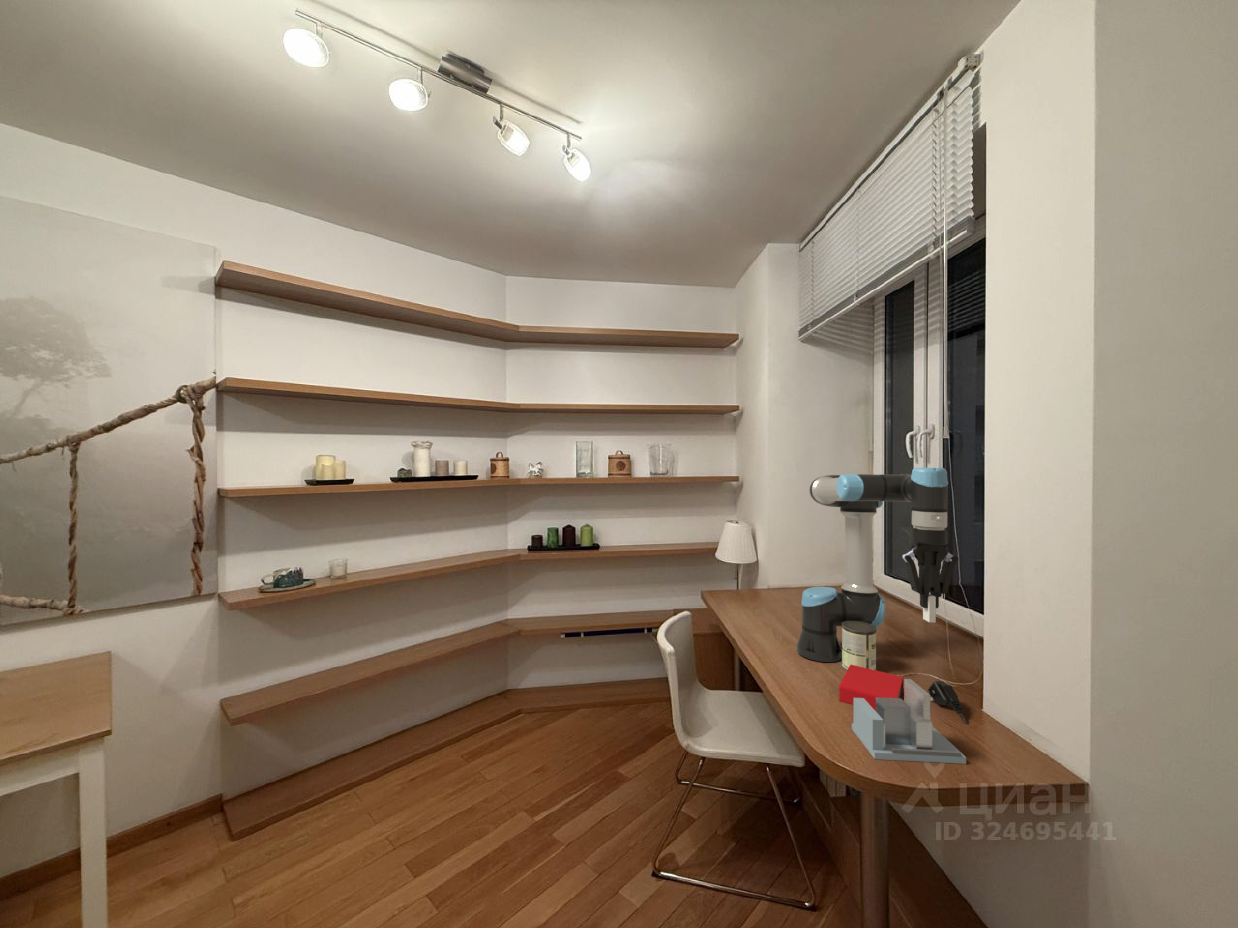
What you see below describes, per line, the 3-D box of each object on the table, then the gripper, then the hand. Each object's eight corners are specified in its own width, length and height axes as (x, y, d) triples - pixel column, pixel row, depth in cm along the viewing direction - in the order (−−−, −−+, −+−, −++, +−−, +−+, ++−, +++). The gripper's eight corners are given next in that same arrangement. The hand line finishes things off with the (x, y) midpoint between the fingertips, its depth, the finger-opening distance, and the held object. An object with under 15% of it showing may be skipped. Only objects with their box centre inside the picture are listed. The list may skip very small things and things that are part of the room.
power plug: (958, 722, 118) (931, 676, 127) (944, 734, 122) (920, 689, 132) (979, 721, 118) (951, 676, 127) (964, 734, 122) (938, 689, 132)
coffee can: (842, 658, 158) (842, 618, 158) (876, 664, 153) (876, 623, 153) (840, 670, 149) (840, 627, 149) (876, 677, 144) (876, 633, 144)
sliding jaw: (894, 726, 114) (894, 676, 114) (908, 726, 114) (908, 677, 114) (916, 750, 104) (916, 696, 104) (932, 750, 104) (932, 696, 104)
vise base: (851, 728, 116) (851, 695, 116) (933, 732, 114) (933, 699, 114) (874, 758, 104) (874, 722, 104) (966, 763, 102) (966, 726, 102)
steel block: (875, 733, 111) (875, 697, 111) (901, 734, 111) (901, 698, 111) (884, 743, 107) (884, 705, 107) (910, 744, 107) (910, 706, 107)
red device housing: (850, 679, 144) (850, 663, 144) (903, 692, 135) (903, 676, 135) (839, 702, 130) (839, 685, 130) (897, 719, 121) (897, 700, 121)
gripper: (911, 529, 111) (910, 624, 111) (966, 530, 111) (966, 626, 110) (894, 525, 119) (894, 615, 119) (946, 526, 118) (946, 616, 118)
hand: (929, 620), depth 115 cm, fingers closed
